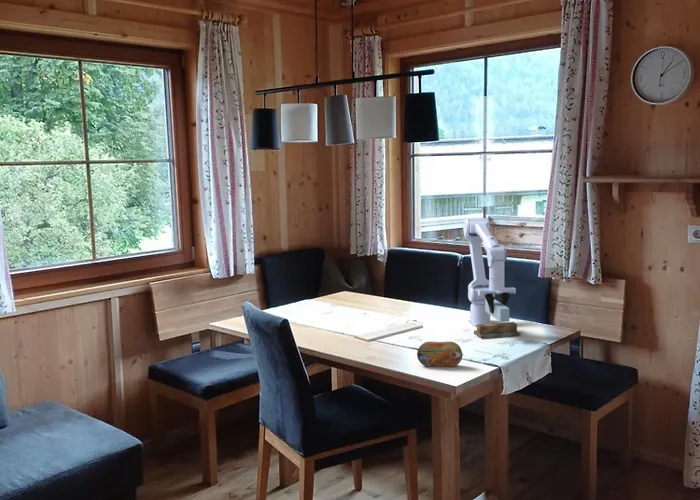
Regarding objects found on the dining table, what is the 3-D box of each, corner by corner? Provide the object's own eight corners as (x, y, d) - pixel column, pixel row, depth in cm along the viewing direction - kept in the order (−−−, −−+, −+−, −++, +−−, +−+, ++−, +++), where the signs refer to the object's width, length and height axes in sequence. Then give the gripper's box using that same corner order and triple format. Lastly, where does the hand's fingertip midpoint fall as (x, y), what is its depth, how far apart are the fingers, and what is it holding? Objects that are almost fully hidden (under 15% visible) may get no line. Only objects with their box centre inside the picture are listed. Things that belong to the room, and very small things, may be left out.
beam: (485, 311, 271) (485, 299, 271) (493, 310, 272) (493, 298, 271) (500, 322, 254) (500, 308, 253) (509, 321, 254) (509, 308, 253)
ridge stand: (480, 338, 259) (480, 328, 258) (473, 333, 267) (473, 323, 266) (520, 335, 261) (520, 325, 260) (512, 330, 269) (512, 320, 268)
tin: (417, 366, 228) (416, 342, 227) (417, 363, 231) (417, 339, 230) (462, 367, 225) (462, 343, 224) (462, 364, 228) (462, 340, 227)
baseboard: (351, 338, 268) (367, 343, 260) (350, 331, 267) (367, 336, 260) (405, 324, 287) (422, 328, 279) (405, 317, 286) (422, 321, 279)
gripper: (482, 280, 256) (482, 316, 258) (518, 278, 258) (518, 313, 260) (476, 277, 263) (476, 311, 265) (511, 275, 265) (511, 309, 267)
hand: (496, 312), depth 263 cm, fingers closed on beam, 3 cm apart
